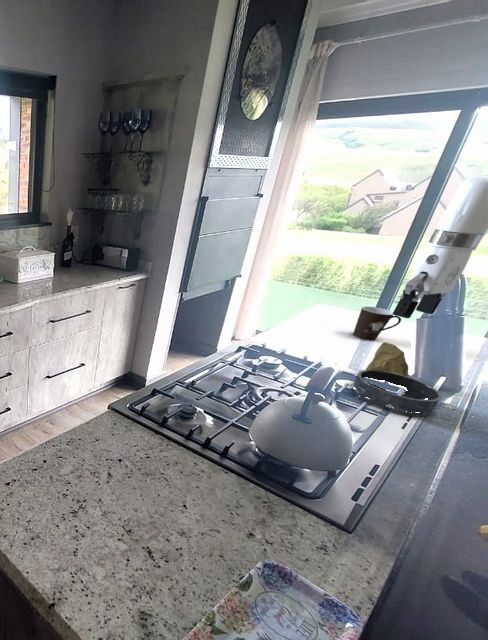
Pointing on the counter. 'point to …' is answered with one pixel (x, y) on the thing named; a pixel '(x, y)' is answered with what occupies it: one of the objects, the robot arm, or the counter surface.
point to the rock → (389, 360)
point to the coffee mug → (372, 322)
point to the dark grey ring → (401, 404)
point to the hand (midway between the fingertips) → (412, 314)
